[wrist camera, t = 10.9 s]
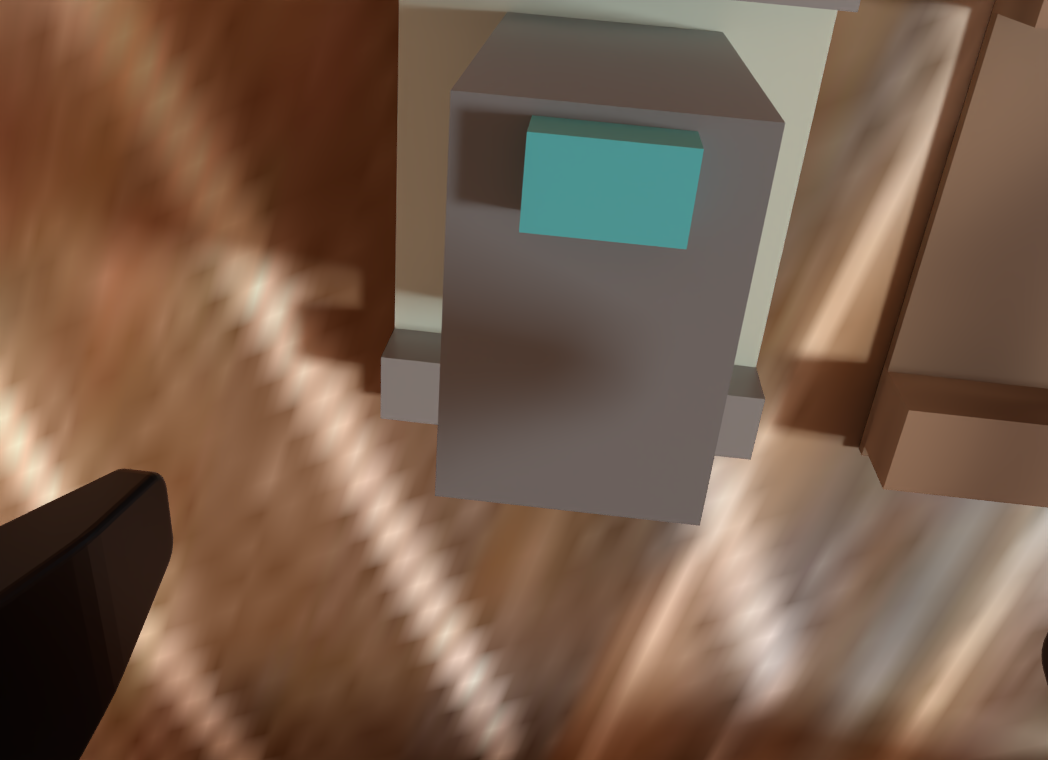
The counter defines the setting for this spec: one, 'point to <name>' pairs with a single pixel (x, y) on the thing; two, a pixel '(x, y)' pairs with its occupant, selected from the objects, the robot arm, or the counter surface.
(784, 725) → the counter surface
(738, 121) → the plug
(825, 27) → the cradle
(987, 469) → the walnut dock
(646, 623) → the counter surface
